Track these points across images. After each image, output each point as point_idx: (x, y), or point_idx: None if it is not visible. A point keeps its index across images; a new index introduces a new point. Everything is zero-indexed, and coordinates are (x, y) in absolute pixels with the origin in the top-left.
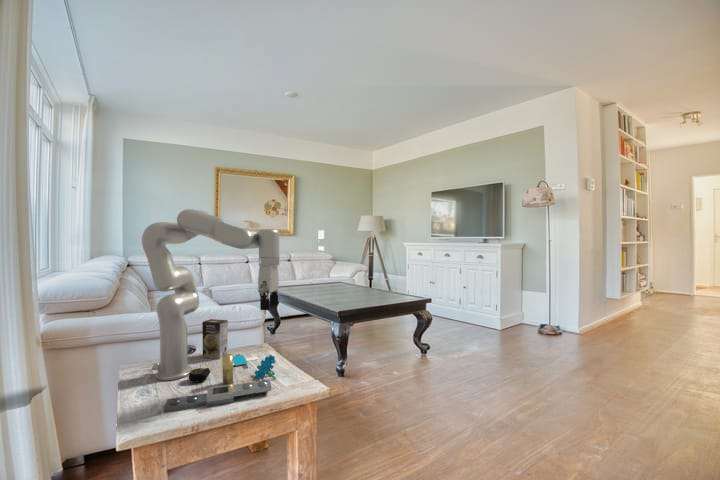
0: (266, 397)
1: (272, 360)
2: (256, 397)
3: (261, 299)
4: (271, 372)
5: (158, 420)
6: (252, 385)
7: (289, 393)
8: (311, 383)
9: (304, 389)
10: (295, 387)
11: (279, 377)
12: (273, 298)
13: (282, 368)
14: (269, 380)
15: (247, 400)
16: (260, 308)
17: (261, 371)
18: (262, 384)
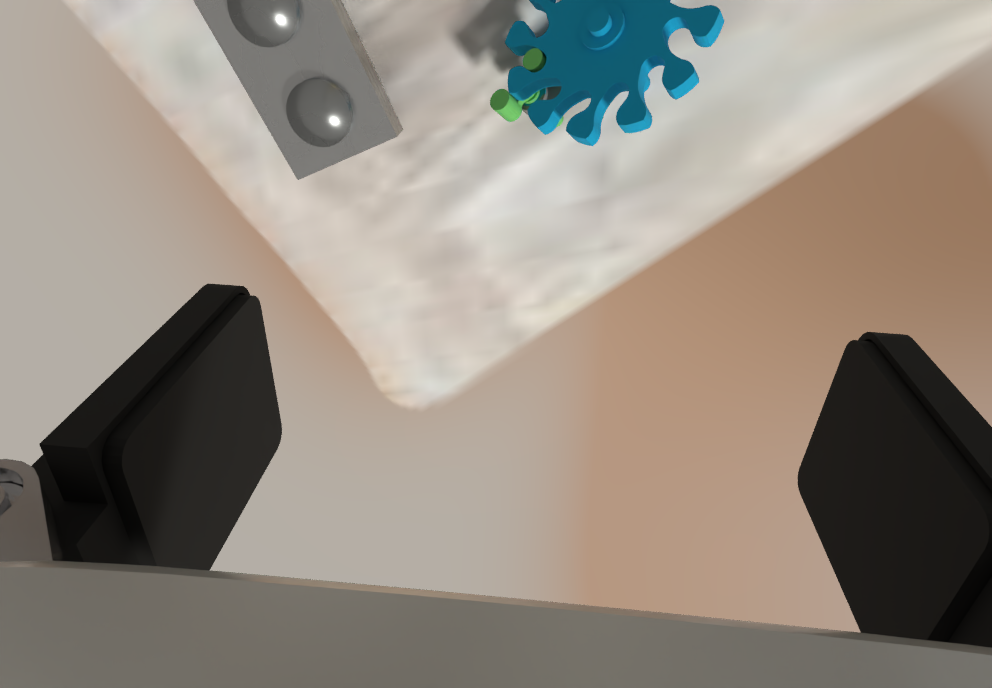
0: None
1: (592, 118)
2: None
3: (63, 466)
4: (510, 117)
5: None
6: (276, 46)
7: (351, 258)
8: (486, 347)
9: (408, 324)
10: (429, 275)
11: None
12: (885, 529)
13: (761, 118)
14: (379, 141)
15: None
16: (196, 294)
17: (571, 8)
18: (289, 121)
